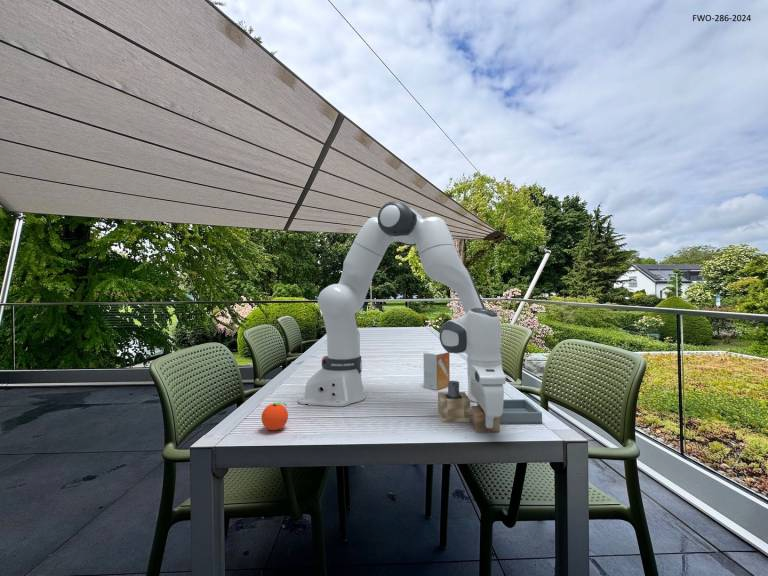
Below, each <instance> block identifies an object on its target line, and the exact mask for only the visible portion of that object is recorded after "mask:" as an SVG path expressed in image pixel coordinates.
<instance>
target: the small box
mask: <svg viewBox="0 0 768 576" xmlns="http://www.w3.org/2000/svg"><path fill="white" fill-rule="evenodd" d="M450 371H451V370H450V353H449V352H447V351H446V350H439V349H436V350H432V351H431V350H430V351H427V352H423V388H425V389H429V390H434V391H438V390H442V389H445V388H448V381H451V379H450Z"/></svg>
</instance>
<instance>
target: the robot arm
mask: <svg viewBox="0 0 768 576" xmlns="http://www.w3.org/2000/svg"><path fill="white" fill-rule="evenodd" d="M354 238H355V239H354V240H353V243H352V245H351V246H350V249H349V250H348V252H347V254H346V256H345V258H344V260H343V264H342V265H343V267H342V272H341V274H340V275H341V276H340V278H339V282H338V283H333V284H329V285H328V286H326V287H325V288H323V289H322V290H321V291H320V292H319V295H318V297H317V307H318V308H319V310H320V311H321V314H322V317H323V318H322V319H323V321H324V327H325V330H326V331H325V332H326V344H327V345H326V346H327V353H326V354H327V355H324V356H322V358H321V368H320V369H319V370H318V371H316V373H315V374H313V375H312V376H311V377H310V378H309V379H308V380H307V382H306V384H305V389H304V392H302V393H300V394H299V396H298V399H297V402H299V403H300V404H299V403H298V404H299V405H305V404H308V405H307V406H309V405H310V406H322V407H323V406H324V407H344V406H347V405H350V404H354V403H355V404H356V403H358V402H361V401H364V399H366V394H365V391H364V385H363V379H362V370H363V364H362V363H363V361H362V356H361V344H360V343H361V342H360V341H361V340H360V339H361V338H360V332H359V329H358V325H357V320H356V313H358V312H359V311H360V310H361V309H362V308H363V306H364V304H365V301H366V297H367V295H368V292H369V289H370V286H371V283H372V280H373V278H374V275H375V273H376V272H377V270H378V267H379V266H380V263H381V262H382V259H384V255H385V253H386V252H387V249H388V247H389V246H390V245H391V244H392V243H393V244H394V243H396V244H397V245H402V246H410V247H416V248H417V251H418V257H419V260H420V265H421V267H422V269H423V272H424V274H425V275H427V277H428V278H429V279H431V280H432V281H434V282H435V283H436V282H437V283H439V284H442V285H445V286H447V287H448V288H450V289H451V290H453V291H454V292H455V293H456V294H457V296H458V298H459V301H460V303H461V305H462V308H463V311H464V313H465V314H463V315H462V316H460V317H456V318H454V319H450V320H448V321H445V322H444V323H443V324H442V325H441V327H440V330H439V341H440V344H441V347H442V348H443V349H444V351H446V352H449V354H457V355H458V354H463V353H464V354H466V355H467V359H466V360H467V363H466V365H467V377H468V376H469V377H470V378H471V394H472V395H473V397H474V398H475V399H476V402H477V403H476V402H475V403H476V406H481V408H482V409H483V410H484V412H485V415H486V416H485V426H486V427H487V428H492V427H493V420H494V417H497V416H501V415H502V412H503V403H504V400H505V396H504V395H505V394H504V393H505V389H504V385H506V383H507V377H506V374H505V373H504V370H503V361H502V360H503V359H502V355H501V346H502V327H501V326H502V325H501V320H500V316H499V314H498V313H497V312H496V311H494V310H491V309H488V308H486V307H485V304H484V302H483V300H482V297H481V294H480V293H479V290H478V287H477V285H476V282H475V281H474V278H473V276H472V274H471V273H470V271H469V270H468V269H467V268H466V266H465V265H464V264H463V262H462V261H461V258H460V256H459V253H458V251H457V249H456V245H455V243H454V239H453V236H452V234H451V231H450V229H449V227H448V225H447V223H446V221H445V220H444V219H443V218H441V217H439V216H428V217H425V218H424V217H423V216H422V215H421V214H420V213H419V212H417V210H415V209H413V208H411V207H409V206H408V205H407V204H405V203H403V202H400V201H389V202H386V203H385V204H384V205H383V206H382V207H380V210H379V211H378V214H377V216H373V217H370V218H368V219H367V220H366V221H365V223H364V224H363V225H362V227H361V228H360V230H359V231H358V233H357V235H356V236H355V237H354Z"/></svg>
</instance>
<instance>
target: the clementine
mask: <svg viewBox="0 0 768 576" xmlns="http://www.w3.org/2000/svg"><path fill="white" fill-rule="evenodd" d="M285 406H286V407H285ZM287 408H288V406H287V405H286V403H284V402H274V403H270V404H268V405H267V406H266V407H265V408H264V410H263V411H262V413H261V423H262V425H263V427H264V428H266V429H267V430H269V431H278V429H279V430H281V429H282V428H283V427H284V426H285V425H286V424H287V421H288V420H289V413H288V410H287Z"/></svg>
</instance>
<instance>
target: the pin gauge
mask: <svg viewBox="0 0 768 576" xmlns="http://www.w3.org/2000/svg"><path fill="white" fill-rule="evenodd" d="M447 392H448V399H459V392H460V382H459V381H458V380H450V381H448V387H447Z"/></svg>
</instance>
